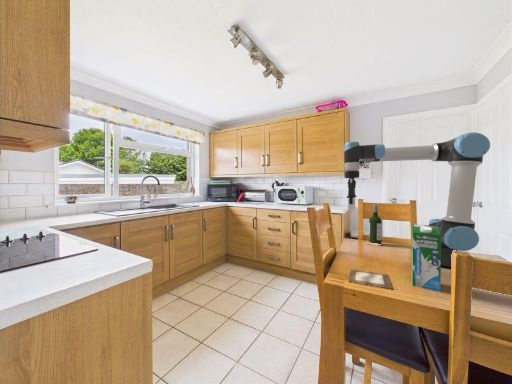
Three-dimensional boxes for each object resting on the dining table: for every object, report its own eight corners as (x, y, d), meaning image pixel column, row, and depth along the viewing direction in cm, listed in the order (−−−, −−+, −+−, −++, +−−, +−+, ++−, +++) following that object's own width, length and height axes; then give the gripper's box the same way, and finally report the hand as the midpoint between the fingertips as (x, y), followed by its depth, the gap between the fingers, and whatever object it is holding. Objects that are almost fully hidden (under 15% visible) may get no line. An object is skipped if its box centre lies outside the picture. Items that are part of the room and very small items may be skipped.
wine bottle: (371, 244, 162) (371, 204, 162) (383, 246, 156) (383, 204, 156) (367, 246, 157) (367, 204, 156) (379, 248, 151) (379, 205, 151)
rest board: (387, 276, 101) (387, 274, 101) (392, 290, 87) (392, 288, 87) (350, 270, 108) (350, 268, 108) (348, 283, 94) (349, 280, 94)
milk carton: (412, 286, 91) (412, 226, 91) (411, 279, 98) (412, 223, 98) (440, 292, 86) (441, 228, 86) (437, 284, 93) (438, 225, 93)
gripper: (346, 172, 132) (346, 207, 132) (342, 169, 110) (342, 211, 110) (359, 172, 129) (360, 208, 129) (358, 168, 106) (358, 211, 107)
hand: (351, 209), depth 119 cm, fingers open, 13 cm apart
